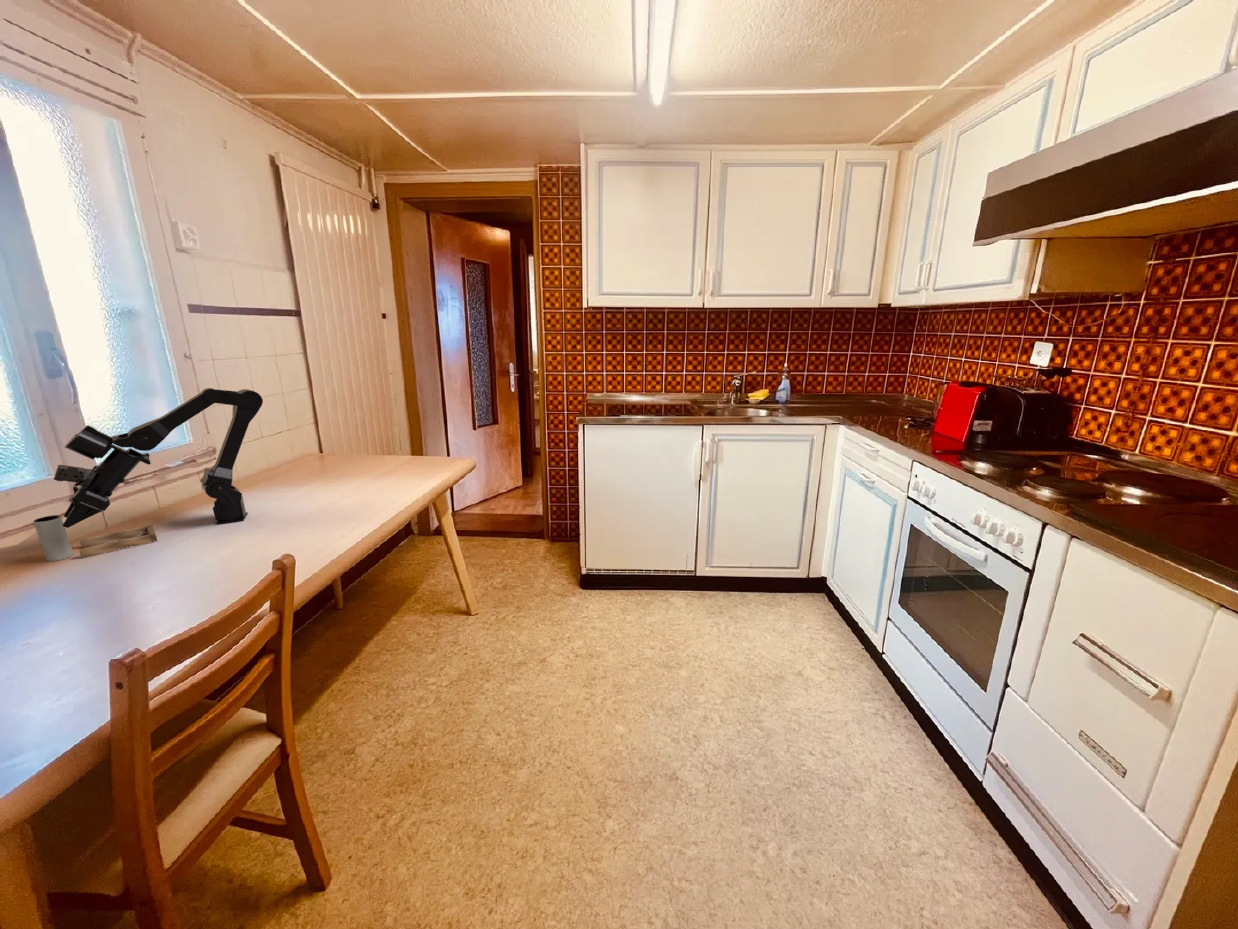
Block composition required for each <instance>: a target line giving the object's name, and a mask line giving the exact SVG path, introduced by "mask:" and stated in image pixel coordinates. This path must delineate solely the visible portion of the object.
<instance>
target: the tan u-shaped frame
mask: <svg viewBox="0 0 1238 929" xmlns="http://www.w3.org/2000/svg"><path fill="white" fill-rule="evenodd" d="M141 534H146V535H141ZM138 535H141V536H138ZM134 536H137V537H134ZM130 537H132V538H130ZM126 538H127V539H126ZM122 539H123V540H122ZM114 540H118V541H114ZM109 541H113V542H109ZM154 541H157V542H158V538H157V534H156V532H155V528H154V526H153V524H150V525H144V526H140V527H135V528H130V529H125V530H120V531H116V532H110V533H106V534H102V535H97V536H91V537H87V538H82V539H79V543H80V547H81V548H80V549H78V551H79V555H80V557H81V559H85V558H90V557H93V556H92V555H95V556H98V555H97V554H99V555H101V554H100V553H104V552H108V553H112V552H116V551H115V550H117V551H119V550H118V549H121V550H123V549H122V548H126V547H130V546H135V547H138V546H137V545H139V546H142V545H141V544H143V545H147V544H146V543H148V544H150V543H149V542H152V543H155V542H154ZM105 542H109V543H105ZM102 543H104V544H102ZM97 544H100V545H97ZM93 545H95V546H93ZM86 546H90V547H86ZM82 547H86V548H82ZM130 548H131V547H130ZM126 549H127V548H126ZM111 551H112V552H111ZM104 554H105V553H104ZM89 556H90V557H89Z"/></svg>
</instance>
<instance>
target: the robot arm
mask: <svg viewBox="0 0 1238 929" xmlns="http://www.w3.org/2000/svg"><path fill="white" fill-rule="evenodd" d="M263 402H264V399H263V397H262V396H261V394H260V393H258V392H257V391H254V390H251V389H246V388H244V389H240V390H238V391H236V390H235V391H234V390H225V389H218V388H217V389H215V388H212V387H206V388H204V389H202V391H200V392H199V393H198V394H196V395H195V396H193V397H191V398H190V399H188V400H187V401H185V402H184V403H181V404H180V405H178V406H177V407H174V409H172V410H170V411H169V412H167V413H166V414H163V415H162V416H160V417H158V418H156V419H153V420H149V421H146V422H145V423H142V424H140V425H137V426H135V427H132V428H131V429H129V431H128V432H127V433H126V432H125V433H122V434H116V435H112V436H110V435H108V434H106V433H103V432H102V431H99V430H98V429H96V428H95V427H93V426H91V425H90V424H89V425H87V424H86V425H85V427H83V429H81V430H80V431H79V432H78V433H75V434H74V435H73V437H71V439H70V440H68V442H67V443H66V444H65V446H64V449H67V450H69V451H72V452H74V453H76V454H78V455H81V456H83V457H86V458H88V459H90V460H94V459H102V458H104V457H105V456H106V455H107V454H108V453H109V451H110V450H111V449H113V450H112V451H111V452H110V453H109V454H108V455H107V456H106V457H105V458H104V460H103V461H101V462H100V463H99V464H97V465H94V466H93V467H92V468H85V467H79V466H73V465H64V464H58V465H57V469H56V470H55V474H54V477H53V481H56V482H71V483H73V484H74V485H73V486H72V490H73V496H71V502H70V504H69V505H68V508H67V510H65V512H64V515H63V517H65V518H66V519H65V520H64V521H63V527H65V529H66V528H67V529H68V528H70V527H73V526H75V525H77V524H78V523H80V522H83V521H85V520H86V519H89V518H90V517H93V516H94V515H95V516H96V515H97V514H99V513H102V512H106V511H107V509H108V508H109V507H110V506H111V501H110V497H112V495H113V492H114V491H115V490H116V489H117V487H118V486H120V484H123V483H124V482H125V480H126V477H128V475H129V474H131V472H132V471H133V470H134V469H135V468H136V466H137V465H138V464H139V463H140V462H141V463H143V464H146V465H151V464H152V463H151V460H150V453H149V451H151V450H153V449H155V448H156V447H157V446H159V444H161V443H162V442H163V441H164V440H165V439H166V438H167V437H168V435H170V433H172V432H173V431H174V430H175V429H176V428H179V426H182V425H183V424H185V423H186V422H188V421H189V420H190V419H192V418H193V417H194V416H195V417H196V415H198V414H200V413H202V412H203V411H205V410H206V409H208V408H209V407H211V406H212V405H214V404H219V405H220V404H221V405H228V406H232V418H231V421H230V424H229V425H228V429H227V432H226V434H225V437H224V440H223V442H222V444H221V448H220V451H219V453H218V456H217V458H216V461H215V463H214V465H213V466H212V467H211V469H210V468H207V467H204V471H203V476H202V477H201V478H200V480H199V481H200V483H201V488H202V490H203V491H204V492H205V493H206V495H207V496H208V497H210V498H211V499H215V500H214V502H213V505H214V506H213V507H212V511H213V516H214V520H215V521H216V522H215V523H216V524H217V525H222V524H228V523H234V522H241V521H242V522H243V521H244V520H245V519H246V517H247V516H248V515H249V513H248V512H246V507H245V501H244V498H243V493H241V491H239V489H238V488H237V487H236V486H234V485H233V469H234V466H235V463H236V460H237V457H238V455H239V453H240V450H241V447H242V444H243V441H244V439H245V436H246V432H247V430H248V427H249V424H250V423H251V421H252V420H253V419H254V418H255V417H256V416H257V414H258V412H259V411H260V409H261V407H262V406H263ZM125 448H128V449H125ZM132 448H133V449H132ZM139 451H141V452H146V453H141V452H139Z"/></svg>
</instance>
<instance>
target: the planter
mask: <svg viewBox="0 0 1238 929" xmlns="http://www.w3.org/2000/svg"><path fill="white" fill-rule="evenodd" d="M63 524H64V520H63V518H62V516H61V515H58V514H55V515H46V516H43V517H39V518H37V519H34V520H33V526H34V528H35V531H36V533H37V537H38V540H39V542H40V545H41V546H40V547H41V549H42V551H43V554H44V557H45V559H46V561H47V562H55V561H62V560H65V559H68V558H71V557H72V556H73V555H74V552H73V548H72V546H71V543H70V540H69V537H68V534H67V530H66V527H63Z"/></svg>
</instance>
